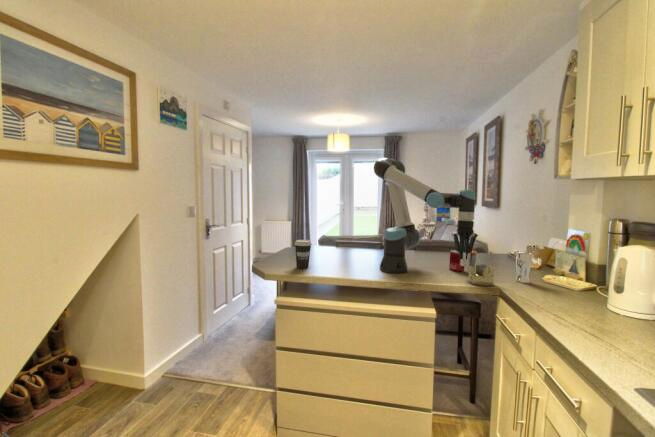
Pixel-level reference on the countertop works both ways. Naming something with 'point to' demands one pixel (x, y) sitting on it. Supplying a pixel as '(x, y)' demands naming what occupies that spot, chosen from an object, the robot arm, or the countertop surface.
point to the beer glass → (523, 266)
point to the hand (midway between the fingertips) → (462, 265)
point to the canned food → (455, 261)
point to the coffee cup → (302, 253)
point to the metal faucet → (479, 272)
